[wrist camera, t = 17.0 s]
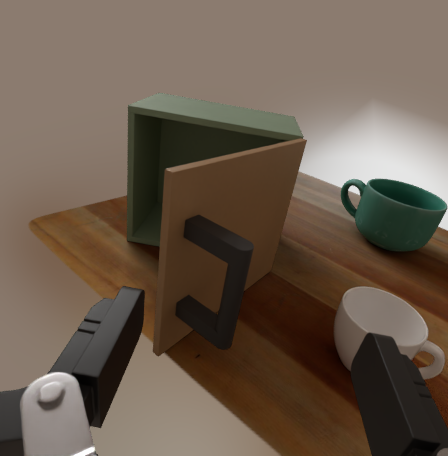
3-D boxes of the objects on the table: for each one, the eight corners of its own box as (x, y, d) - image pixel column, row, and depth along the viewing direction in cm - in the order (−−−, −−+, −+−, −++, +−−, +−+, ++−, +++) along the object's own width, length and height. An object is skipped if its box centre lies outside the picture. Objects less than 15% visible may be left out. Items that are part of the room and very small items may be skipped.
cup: (334, 321, 39) (354, 276, 36) (426, 369, 35) (458, 323, 31) (311, 363, 33) (331, 314, 30) (418, 428, 29) (456, 378, 25)
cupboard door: (308, 291, 43) (357, 155, 34) (204, 397, 28) (242, 204, 19) (266, 267, 46) (300, 138, 37) (152, 351, 31) (164, 168, 22)
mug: (430, 246, 60) (456, 200, 56) (409, 270, 52) (437, 217, 47) (347, 210, 69) (363, 167, 65) (318, 225, 61) (333, 177, 56)
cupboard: (268, 267, 47) (303, 136, 38) (126, 240, 47) (127, 105, 38) (267, 224, 58) (294, 116, 49) (153, 203, 58) (159, 92, 49)
